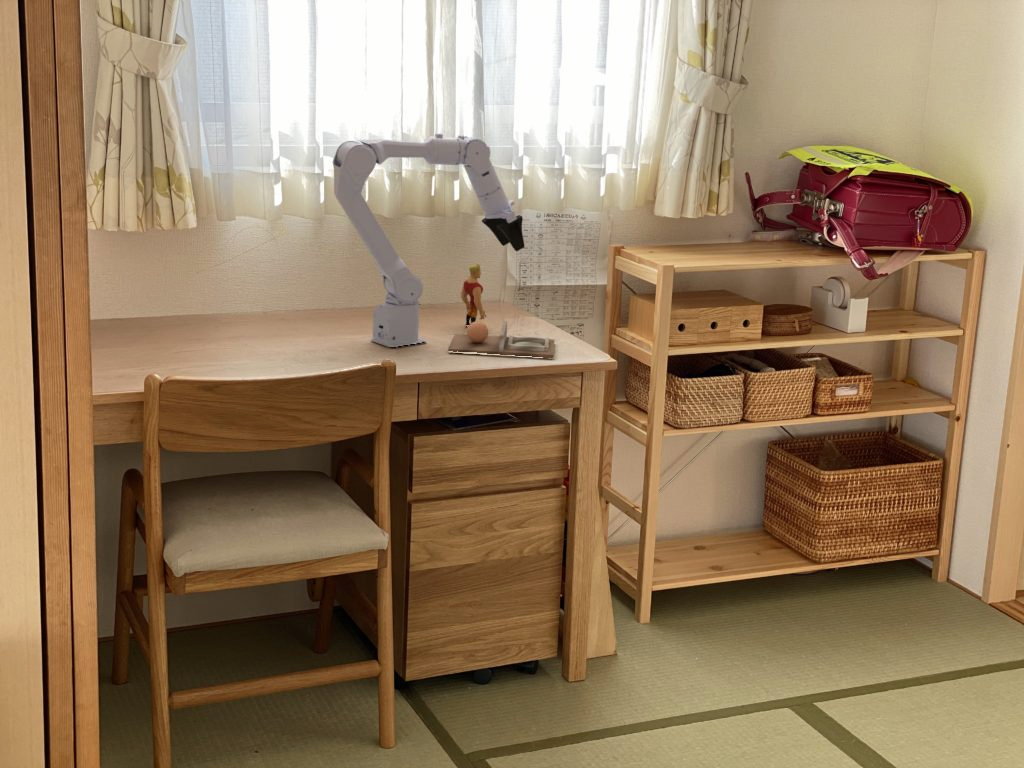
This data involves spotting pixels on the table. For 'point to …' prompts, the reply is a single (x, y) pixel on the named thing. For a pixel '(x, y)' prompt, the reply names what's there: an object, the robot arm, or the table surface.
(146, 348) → the table surface
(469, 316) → the action figure
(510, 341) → the board
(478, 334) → the ball
